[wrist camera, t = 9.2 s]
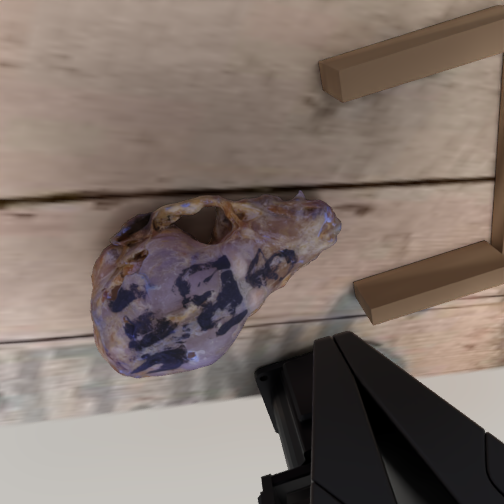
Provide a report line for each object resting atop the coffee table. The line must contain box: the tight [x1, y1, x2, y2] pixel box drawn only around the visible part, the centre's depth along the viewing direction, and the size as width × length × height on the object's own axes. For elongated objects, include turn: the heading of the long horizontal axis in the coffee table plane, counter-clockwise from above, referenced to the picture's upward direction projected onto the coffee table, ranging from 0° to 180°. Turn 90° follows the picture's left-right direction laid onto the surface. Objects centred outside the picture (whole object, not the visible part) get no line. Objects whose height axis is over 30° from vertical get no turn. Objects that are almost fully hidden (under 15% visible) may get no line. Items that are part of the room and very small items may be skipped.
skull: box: [91, 190, 341, 378], centre depth 20 cm, size 12×8×6 cm, turn 103°
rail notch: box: [319, 5, 504, 325], centre depth 21 cm, size 13×9×2 cm
